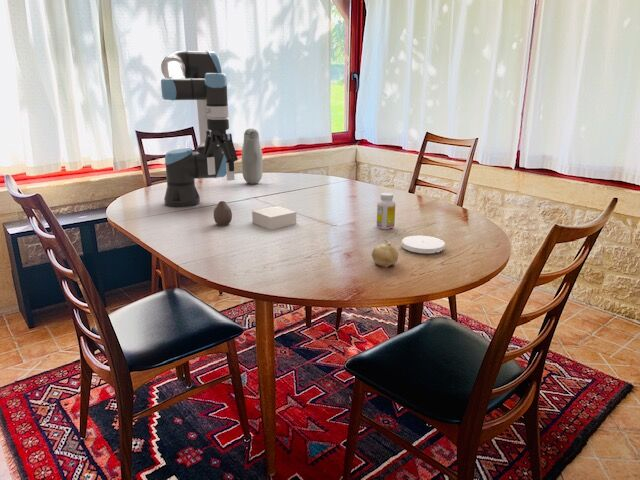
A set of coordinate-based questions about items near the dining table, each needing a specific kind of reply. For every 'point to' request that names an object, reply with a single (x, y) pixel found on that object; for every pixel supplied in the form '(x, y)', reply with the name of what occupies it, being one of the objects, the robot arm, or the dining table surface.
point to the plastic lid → (423, 244)
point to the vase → (222, 214)
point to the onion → (385, 254)
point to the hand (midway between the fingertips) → (221, 177)
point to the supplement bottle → (386, 211)
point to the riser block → (274, 217)
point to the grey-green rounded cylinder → (251, 157)
